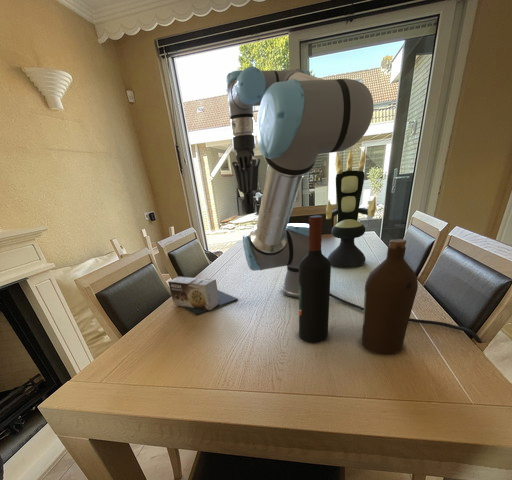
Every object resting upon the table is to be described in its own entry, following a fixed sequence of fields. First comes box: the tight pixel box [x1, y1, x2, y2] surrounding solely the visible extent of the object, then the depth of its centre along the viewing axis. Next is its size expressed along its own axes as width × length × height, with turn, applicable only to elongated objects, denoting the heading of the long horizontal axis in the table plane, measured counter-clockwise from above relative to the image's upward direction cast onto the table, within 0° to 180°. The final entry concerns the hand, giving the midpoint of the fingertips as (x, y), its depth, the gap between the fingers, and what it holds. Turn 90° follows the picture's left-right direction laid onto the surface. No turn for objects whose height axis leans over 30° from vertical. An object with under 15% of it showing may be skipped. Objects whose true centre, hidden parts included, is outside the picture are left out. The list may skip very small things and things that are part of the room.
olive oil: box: [361, 238, 419, 355], centre depth 66 cm, size 11×11×25 cm
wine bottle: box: [298, 215, 332, 344], centre depth 71 cm, size 8×8×30 cm
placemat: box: [181, 290, 239, 316], centre depth 105 cm, size 14×17×1 cm
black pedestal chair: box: [325, 145, 377, 269], centre depth 122 cm, size 19×22×45 cm
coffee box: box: [167, 275, 220, 311], centre depth 101 cm, size 9×6×16 cm
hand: (250, 213), depth 107 cm, fingers closed
